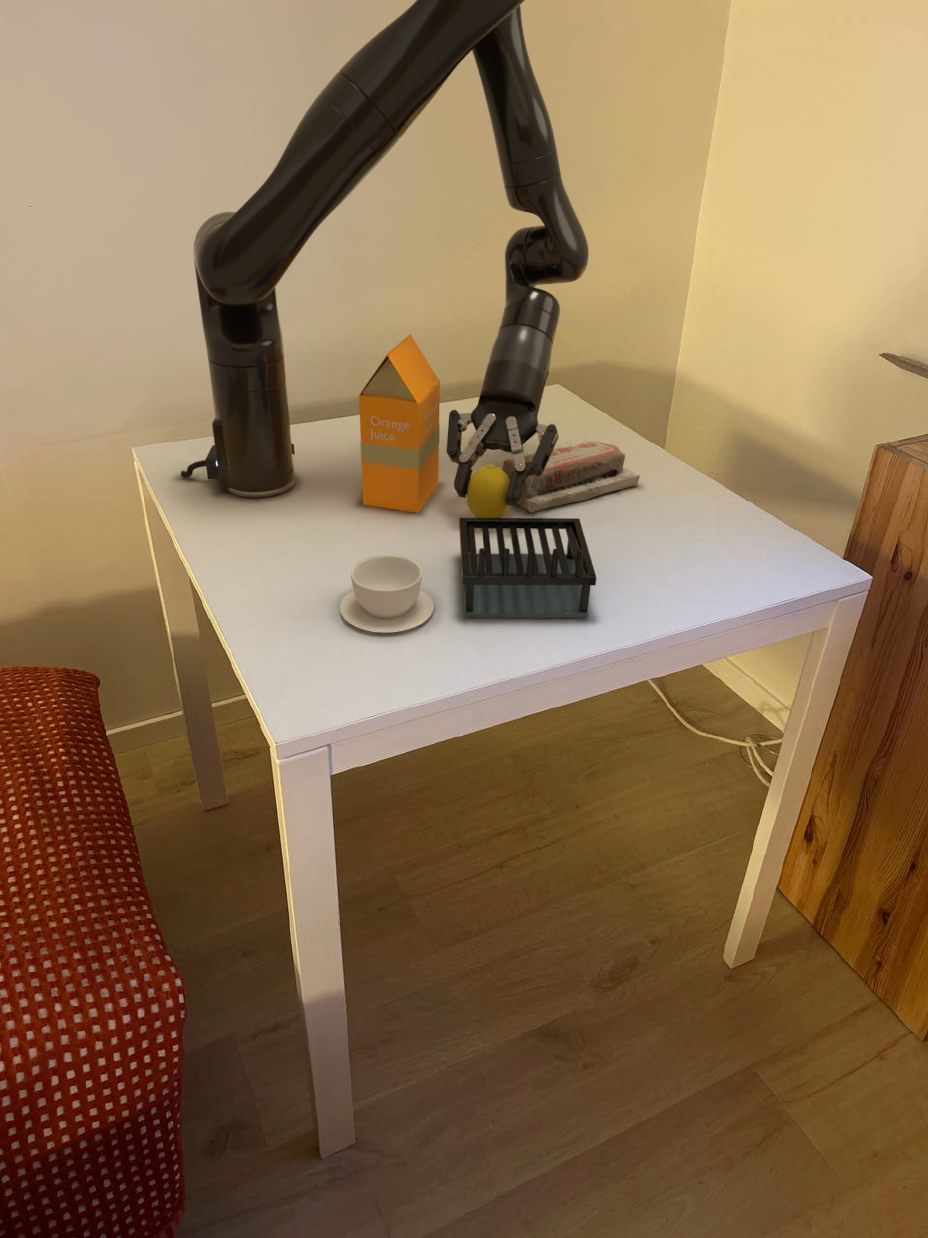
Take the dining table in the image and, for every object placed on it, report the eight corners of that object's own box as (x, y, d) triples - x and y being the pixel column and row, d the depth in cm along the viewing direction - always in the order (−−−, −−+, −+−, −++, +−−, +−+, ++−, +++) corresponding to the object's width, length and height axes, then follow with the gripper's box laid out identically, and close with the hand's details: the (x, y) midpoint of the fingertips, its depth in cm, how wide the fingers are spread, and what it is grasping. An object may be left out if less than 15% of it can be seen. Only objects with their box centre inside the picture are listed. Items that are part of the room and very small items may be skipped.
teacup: (451, 618, 98) (452, 580, 95) (367, 646, 93) (366, 607, 91) (404, 576, 105) (403, 540, 102) (324, 600, 100) (321, 563, 97)
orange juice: (439, 485, 125) (441, 336, 114) (419, 513, 118) (418, 357, 107) (384, 477, 127) (381, 329, 116) (361, 504, 119) (355, 350, 108)
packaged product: (532, 480, 115) (489, 452, 122) (530, 515, 118) (488, 485, 125) (644, 453, 123) (597, 428, 130) (639, 486, 126) (594, 460, 133)
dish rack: (461, 619, 98) (463, 551, 93) (458, 556, 109) (459, 493, 104) (591, 619, 98) (599, 551, 94) (575, 557, 109) (582, 494, 105)
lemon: (515, 518, 117) (518, 459, 113) (502, 537, 113) (505, 477, 109) (474, 510, 119) (475, 452, 114) (459, 529, 114) (461, 469, 110)
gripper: (455, 350, 113) (421, 479, 110) (570, 364, 110) (538, 498, 107) (467, 379, 120) (436, 500, 118) (576, 393, 117) (546, 519, 114)
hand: (485, 498), depth 112 cm, fingers closed on lemon, 5 cm apart
